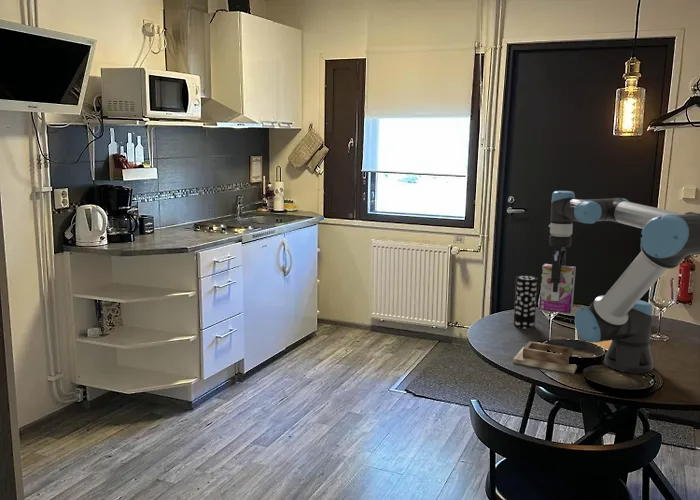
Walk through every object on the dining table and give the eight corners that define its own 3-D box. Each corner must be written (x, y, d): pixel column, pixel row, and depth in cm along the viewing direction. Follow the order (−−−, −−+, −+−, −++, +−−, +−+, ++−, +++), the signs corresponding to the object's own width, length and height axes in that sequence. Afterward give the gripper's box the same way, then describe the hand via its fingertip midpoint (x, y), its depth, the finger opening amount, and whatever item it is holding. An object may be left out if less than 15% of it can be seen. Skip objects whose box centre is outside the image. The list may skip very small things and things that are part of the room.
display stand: (580, 360, 224) (581, 347, 223) (573, 373, 211) (574, 359, 211) (523, 350, 233) (523, 338, 232) (513, 362, 221) (513, 349, 220)
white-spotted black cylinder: (535, 329, 258) (538, 280, 254) (513, 327, 259) (516, 279, 256) (533, 323, 266) (536, 276, 262) (513, 321, 267) (515, 275, 264)
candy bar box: (538, 310, 232) (541, 265, 230) (541, 306, 237) (543, 263, 234) (570, 314, 227) (574, 268, 225) (572, 310, 232) (576, 266, 229)
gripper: (554, 230, 237) (551, 292, 241) (544, 237, 221) (540, 303, 225) (576, 232, 233) (571, 294, 237) (566, 239, 218) (562, 305, 222)
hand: (556, 298), depth 231 cm, fingers closed on candy bar box, 5 cm apart
